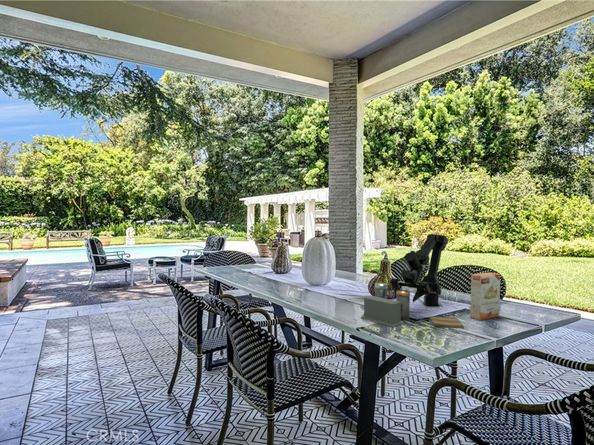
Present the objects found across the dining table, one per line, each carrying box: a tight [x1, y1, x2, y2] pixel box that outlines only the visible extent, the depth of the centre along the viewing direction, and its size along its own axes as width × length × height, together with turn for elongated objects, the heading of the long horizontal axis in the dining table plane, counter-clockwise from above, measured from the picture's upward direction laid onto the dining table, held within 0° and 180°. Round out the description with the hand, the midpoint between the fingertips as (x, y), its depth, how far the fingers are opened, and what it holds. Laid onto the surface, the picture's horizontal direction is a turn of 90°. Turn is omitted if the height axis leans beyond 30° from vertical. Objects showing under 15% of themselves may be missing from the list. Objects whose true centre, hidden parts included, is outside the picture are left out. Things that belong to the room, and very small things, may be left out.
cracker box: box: [469, 272, 501, 321], centre depth 177 cm, size 14×6×21 cm, turn 117°
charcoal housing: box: [360, 295, 405, 328], centre depth 172 cm, size 8×18×10 cm, turn 41°
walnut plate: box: [428, 316, 465, 329], centre depth 168 cm, size 12×12×1 cm
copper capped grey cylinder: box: [395, 289, 411, 321], centre depth 176 cm, size 6×6×13 cm
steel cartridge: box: [374, 282, 388, 299], centre depth 193 cm, size 6×6×13 cm
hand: (403, 300), depth 176 cm, fingers open, 9 cm apart
